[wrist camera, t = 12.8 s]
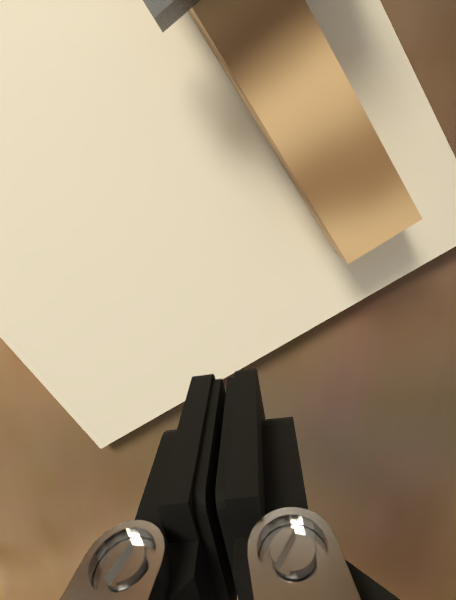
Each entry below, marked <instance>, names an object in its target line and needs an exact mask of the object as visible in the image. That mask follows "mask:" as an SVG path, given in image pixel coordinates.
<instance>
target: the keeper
mask: <svg viewBox="0 0 456 600" xmlns="http://www.w3.org/2000/svg"><path fill="white" fill-rule="evenodd" d="M199 1H201V0H143V2H144V3H145V5H146V7H147V8H148V10H149V11H150V13H151V15H152V16H153V18H154V19H155V21H156V23H157V24H158V26H159V27H160V29H161V31H162V32H164V31H165V30H167V29H168V28H169V27H170V26H171V25H172V24H174V23H175V22H176V21H177V20H178V19H179V18H181V17H182V16H183V15H184V14H185V13H186V12H188V11H189V10H190V9H191V8H192V7H194V6H195V5H196V4H197V3H198V2H199Z"/></svg>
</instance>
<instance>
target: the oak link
mask: <svg viewBox="0 0 456 600" xmlns="http://www.w3.org/2000/svg"><path fill="white" fill-rule="evenodd" d="M188 12H189V14H190V16H191V17H192V19H193V21H194V22H195V24H196V25H197V27H198V29H199V30H200V32H201V34H202V35H203V37H204V39H205V40H206V42H207V43H208V45H209V47H210V48H211V50H212V52H213V53H214V55H215V57H216V58H217V60H218V61H219V63H220V65H221V66H222V68H223V70H224V71H225V73H226V74H227V76H228V78H229V79H230V81H231V83H232V84H233V86H234V88H235V89H236V91H237V92H238V94H239V96H240V97H241V99H242V101H243V102H244V104H245V106H246V107H247V109H248V110H249V112H250V114H251V115H252V117H253V119H254V120H255V122H256V123H257V125H258V127H259V128H260V130H261V132H262V133H263V135H264V137H265V138H266V140H267V141H268V143H269V145H270V146H271V148H272V150H273V151H274V153H275V155H276V156H277V158H278V159H279V161H280V163H281V164H282V166H283V168H284V169H285V171H286V173H287V174H288V176H289V177H290V179H291V181H292V182H293V184H294V186H295V187H296V189H297V190H298V192H299V194H300V195H301V197H302V199H303V200H304V202H305V204H306V205H307V207H308V208H309V210H310V212H311V213H312V215H313V217H314V218H315V220H316V222H317V223H318V225H319V226H320V228H321V230H322V231H323V233H324V235H325V236H326V238H327V239H328V241H329V243H330V244H331V246H332V248H333V249H334V251H335V253H336V254H338V255H339V256H340V257H341V258H342V259H343V260H344V261H345V262H346V263H347V264H349V263H351V262H353V261H354V260H356V259H358V258H359V257H361V256H363V255H364V254H366V253H368V252H369V251H371V250H372V249H374V248H376V247H377V246H379V245H381V244H382V243H384V242H386V241H387V240H389V239H390V238H392V237H394V236H395V235H397V234H399V233H400V232H402V231H404V230H405V229H407V228H408V227H410V226H412V225H413V224H415V223H417V222H418V221H420V220H422V217H421V215H420V213H419V212H418V210H417V208H416V206H415V204H414V202H413V200H412V198H411V197H410V195H409V193H408V191H407V189H406V187H405V185H404V184H403V182H402V180H401V178H400V176H399V174H398V172H397V170H396V169H395V167H394V165H393V163H392V161H391V159H390V157H389V156H388V154H387V152H386V150H385V148H384V146H383V144H382V143H381V141H380V139H379V137H378V135H377V133H376V131H375V129H374V128H373V126H372V124H371V122H370V120H369V118H368V116H367V115H366V113H365V111H364V109H363V107H362V105H361V103H360V101H359V100H358V98H357V96H356V94H355V92H354V90H353V88H352V87H351V85H350V83H349V81H348V79H347V77H346V75H345V73H344V72H343V70H342V68H341V66H340V64H339V62H338V60H337V59H336V57H335V55H334V53H333V51H332V49H331V47H330V45H329V44H328V42H327V40H326V38H325V36H324V34H323V32H322V31H321V29H320V27H319V25H318V23H317V21H316V19H315V17H314V16H313V14H312V12H311V10H310V8H309V6H308V4H307V3H306V1H305V0H201V1H199V2H198V3H197V4H196V5H195V6H194V7H192V8H191V9H190V10H189V11H188Z"/></svg>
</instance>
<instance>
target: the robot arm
mask: <svg viewBox="0 0 456 600" xmlns="http://www.w3.org/2000/svg"><path fill="white" fill-rule="evenodd" d="M237 595H238V599H239V600H400V599H398V598H397V597H396V596H394V595H393V594H392V593H390V592H389V591H387V590H386V589H385V588H383V587H382V586H381V585H379V584H378V583H376V582H375V581H374V580H372V579H371V578H370V577H368V576H367V575H366V574H364V573H363V572H361V571H360V570H359V569H357V568H356V567H355V566H353V565H352V564H350V563H349V562H348V561H346V560H345V558H344V556H343V553H342V551H341V548H340V546H339V543H338V541H337V538H336V536H335V534H334V532H333V531H332V529H331V527H330V526H329V524H328V523H327V522H326V521H325V520H324V519H322V518H321V517H320V516H319V515H317V514H315V513H313V512H311V511H309V510H308V506H307V500H306V494H305V488H304V481H303V475H302V469H301V463H300V457H299V451H298V445H297V439H296V433H295V427H294V421H293V417H285V418H276V419H267V420H265V414H264V409H263V403H262V397H261V391H260V386H259V380H258V374H257V370H256V369H248V370H240V371H235V377H229V378H228V379H227V387H226V392H225V388H224V383H223V380H222V378H221V379H215V376H214V374H209V375H201V376H193V377H192V378H191V382H190V385H189V389H188V393H187V396H186V400H185V403H184V407H183V410H182V414H181V418H180V421H179V425H178V428H177V430H169V431H165V432H164V434H163V436H162V438H161V441H160V444H159V447H158V450H157V453H156V457H155V460H154V463H153V466H152V469H151V472H150V475H149V478H148V481H147V484H146V487H145V490H144V493H143V496H142V499H141V502H140V505H139V508H138V511H137V515H136V518H135V520H133V521H127V522H124V523H121V524H119V525H116V526H115V527H113V528H111V529H110V530H108V531H106V532H105V533H104V534H103V535H102V536H101V537H99V538H98V539H97V540H96V541H95V542H94V543H93V545H92V546H91V547H90V549H89V550H88V552H87V553H86V554H85V556H84V558H83V560H82V562H81V563H80V565H79V567H78V569H77V570H76V572H75V574H74V576H73V577H72V579H71V581H70V583H69V585H68V586H67V588H66V590H65V592H64V593H63V595H62V597H61V599H60V600H237Z"/></svg>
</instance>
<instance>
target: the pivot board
mask: <svg viewBox="0 0 456 600" xmlns="http://www.w3.org/2000/svg"><path fill="white" fill-rule="evenodd" d="M305 1H306V3H307V4H308V6H309V8H310V10H311V12H312V14H313V16H314V17H315V19H316V21H317V23H318V25H319V27H320V29H321V31H322V32H323V34H324V36H325V38H326V40H327V42H328V44H329V45H330V47H331V49H332V51H333V53H334V55H335V57H336V59H337V60H338V62H339V64H340V66H341V68H342V70H343V72H344V73H345V75H346V77H347V79H348V81H349V83H350V85H351V87H352V88H353V90H354V92H355V94H356V96H357V98H358V100H359V101H360V103H361V105H362V107H363V109H364V111H365V113H366V115H367V116H368V118H369V120H370V122H371V124H372V126H373V128H374V129H375V131H376V133H377V135H378V137H379V139H380V141H381V143H382V144H383V146H384V148H385V150H386V152H387V154H388V156H389V157H390V159H391V161H392V163H393V165H394V167H395V169H396V170H397V172H398V174H399V176H400V178H401V180H402V182H403V184H404V185H405V187H406V189H407V191H408V193H409V195H410V197H411V198H412V200H413V202H414V204H415V206H416V208H417V210H418V212H419V213H420V215H421V217H422V220H420V221H418V222H417V223H415V224H413V225H412V226H410V227H408V228H407V229H405V230H404V231H402V232H400V233H399V234H397V235H395V236H394V237H392V238H390V239H389V240H387V241H386V242H384V243H382V244H381V245H379V246H377V247H376V248H374V249H372V250H371V251H369V252H368V253H366V254H364V255H363V256H361V257H359V258H358V259H356V260H354V261H353V262H351V263H349V264H347V263H346V262H345V261H344V260H343V259H342V258H341V257H340V256H339V255H338V254H336V253H335V251H334V249H333V248H332V246H331V244H330V243H329V241H328V239H327V238H326V236H325V235H324V233H323V231H322V230H321V228H320V226H319V225H318V223H317V222H316V220H315V218H314V217H313V215H312V213H311V212H310V210H309V208H308V207H307V205H306V204H305V202H304V200H303V199H302V197H301V195H300V194H299V192H298V190H297V189H296V187H295V186H294V184H293V182H292V181H291V179H290V177H289V176H288V174H287V173H286V171H285V169H284V168H283V166H282V164H281V163H280V161H279V159H278V158H277V156H276V155H275V153H274V151H273V150H272V148H271V146H270V145H269V143H268V141H267V140H266V138H265V137H264V135H263V133H262V132H261V130H260V128H259V127H258V125H257V123H256V122H255V120H254V119H253V117H252V115H251V114H250V112H249V110H248V109H247V107H246V106H245V104H244V102H243V101H242V99H241V97H240V96H239V94H238V92H237V91H236V89H235V88H234V86H233V84H232V83H231V81H230V79H229V78H228V76H227V74H226V73H225V71H224V70H223V68H222V66H221V65H220V63H219V61H218V60H217V58H216V57H215V55H214V53H213V52H212V50H211V48H210V47H209V45H208V43H207V42H206V40H205V39H204V37H203V35H202V34H201V32H200V30H199V29H198V27H197V25H196V24H195V22H194V21H193V19H192V17H191V16H190V14H189V12H186V13H185V14H184V15H183V16H182V17H181V18H179V19H178V20H177V21H176V22H175V23H174V24H172V25H171V26H170V27H169V28H168V29H167V30H165V31H164V32H162V31H161V29H160V27H159V26H158V24H157V23H156V21H155V19H154V18H153V16H152V15H151V13H150V11H149V10H148V8H147V7H146V5H145V3H144V2H143V0H0V337H1V338H2V339H3V341H4V342H5V343H6V344H7V345H8V346H9V347H10V348H11V349H12V351H13V352H14V353H15V354H16V355H17V356H18V357H19V358H20V359H21V361H22V362H23V363H24V364H25V365H26V366H27V367H28V368H29V370H30V371H31V372H32V373H33V374H34V375H35V376H36V377H37V378H38V380H39V381H40V382H41V383H42V384H43V385H44V386H45V387H46V388H47V390H48V391H49V392H50V393H51V394H52V395H53V396H54V397H55V398H56V400H57V401H58V402H59V403H60V404H61V405H62V406H63V407H64V408H65V410H66V411H67V412H68V413H69V414H70V415H71V416H72V417H73V418H74V420H75V421H76V422H77V423H78V424H79V425H80V426H81V427H82V428H83V430H84V431H85V432H86V433H87V434H88V435H89V436H90V437H91V439H92V440H93V441H94V442H95V443H96V444H97V445H98V446H99V447H100V449H101V448H103V447H105V446H107V445H108V444H110V443H112V442H114V441H115V440H117V439H119V438H121V437H122V436H124V435H126V434H128V433H129V432H131V431H133V430H135V429H136V428H138V427H140V426H142V425H143V424H145V423H147V422H149V421H150V420H152V419H154V418H156V417H157V416H159V415H161V414H163V413H164V412H166V411H168V410H170V409H171V408H173V407H175V406H177V405H178V404H180V403H182V402H184V401H185V400H186V396H187V393H188V389H189V385H190V382H191V378H192V377H193V376H201V375H209V374H214V376H215V379H221V378H222V379H224V378H226V377H227V376H229V375H231V374H233V373H234V372H235V371H238V370H240V369H241V368H243V367H245V366H247V365H248V364H250V363H252V362H254V361H255V360H257V359H259V358H261V357H262V356H264V355H266V354H268V353H269V352H271V351H273V350H275V349H276V348H278V347H280V346H282V345H283V344H285V343H287V342H289V341H290V340H292V339H294V338H296V337H297V336H299V335H301V334H303V333H304V332H306V331H308V330H310V329H311V328H313V327H315V326H317V325H318V324H320V323H322V322H324V321H325V320H327V319H329V318H331V317H333V316H334V315H336V314H338V313H340V312H341V311H343V310H345V309H347V308H348V307H350V306H352V305H354V304H355V303H357V302H359V301H361V300H362V299H364V298H366V297H368V296H369V295H371V294H373V293H375V292H376V291H378V290H380V289H382V288H383V287H385V286H387V285H389V284H390V283H392V282H394V281H396V280H397V279H399V278H401V277H403V276H404V275H406V274H408V273H410V272H411V271H413V270H415V269H417V268H418V267H420V266H422V265H424V264H425V263H427V262H429V261H431V260H432V259H434V258H436V257H438V256H439V255H441V254H443V253H445V252H446V251H448V250H450V249H452V248H453V247H455V246H456V158H455V156H454V154H453V152H452V150H451V148H450V146H449V144H448V142H447V139H446V137H445V135H444V133H443V131H442V129H441V127H440V125H439V123H438V121H437V119H436V116H435V114H434V112H433V110H432V108H431V106H430V104H429V102H428V100H427V98H426V96H425V93H424V91H423V89H422V87H421V85H420V83H419V81H418V79H417V77H416V75H415V73H414V71H413V68H412V66H411V64H410V62H409V60H408V58H407V56H406V54H405V52H404V50H403V48H402V45H401V43H400V41H399V39H398V37H397V35H396V33H395V31H394V29H393V27H392V25H391V22H390V20H389V18H388V16H387V14H386V12H385V10H384V8H383V6H382V4H381V2H380V0H305Z"/></svg>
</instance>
